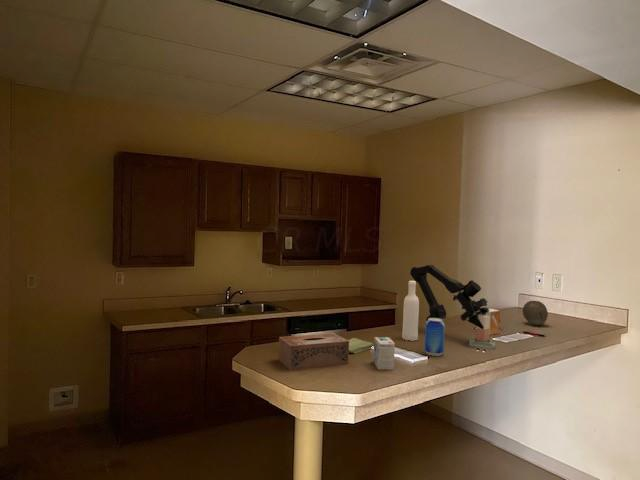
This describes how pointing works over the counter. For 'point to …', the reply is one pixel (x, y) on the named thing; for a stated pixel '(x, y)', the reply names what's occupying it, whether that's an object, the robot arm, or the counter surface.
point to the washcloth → (358, 345)
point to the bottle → (410, 314)
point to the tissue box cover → (313, 351)
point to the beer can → (434, 337)
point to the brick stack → (483, 333)
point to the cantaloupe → (535, 312)
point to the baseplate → (482, 343)
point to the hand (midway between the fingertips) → (485, 327)
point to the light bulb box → (384, 353)
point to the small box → (493, 321)
